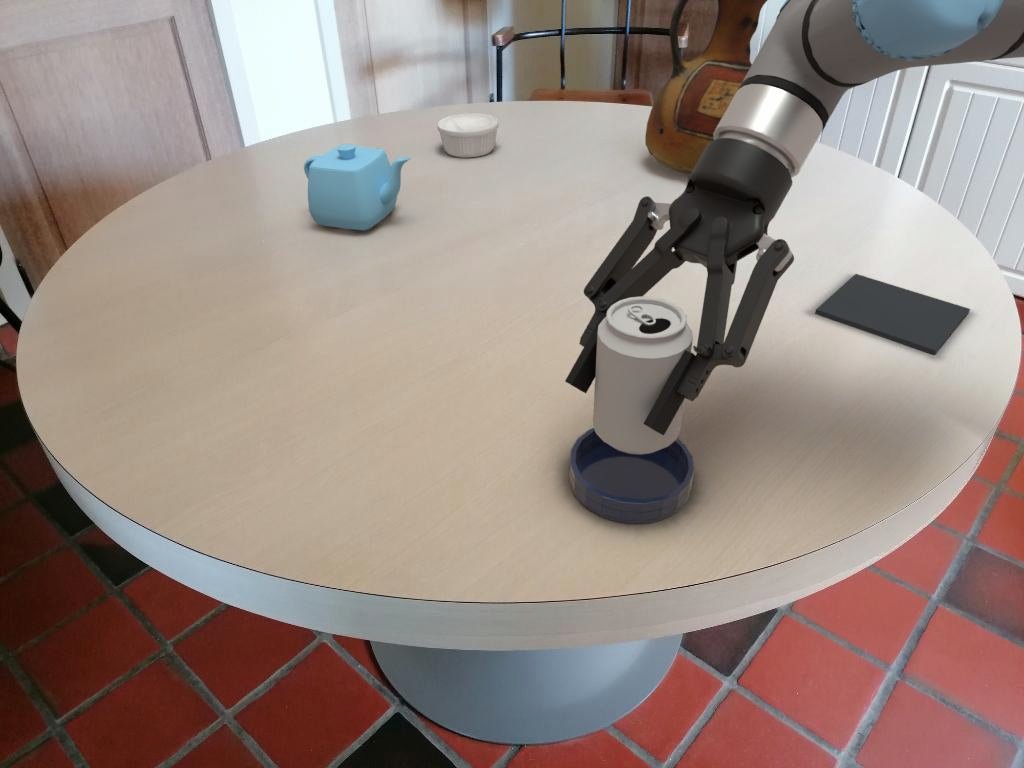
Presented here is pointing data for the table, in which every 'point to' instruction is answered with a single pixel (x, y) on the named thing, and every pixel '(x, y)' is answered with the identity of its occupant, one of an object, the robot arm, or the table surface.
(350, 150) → the teapot
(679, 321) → the can
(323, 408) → the table surface
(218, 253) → the table surface
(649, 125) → the ceramic pitcher
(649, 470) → the dish
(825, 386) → the table surface
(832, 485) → the table surface
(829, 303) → the mat
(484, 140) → the ramekin
